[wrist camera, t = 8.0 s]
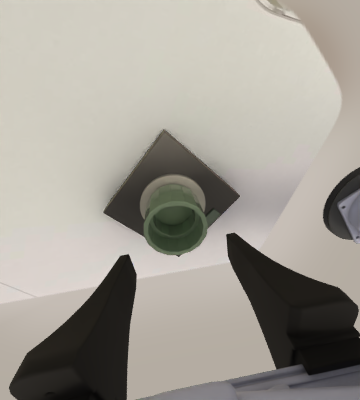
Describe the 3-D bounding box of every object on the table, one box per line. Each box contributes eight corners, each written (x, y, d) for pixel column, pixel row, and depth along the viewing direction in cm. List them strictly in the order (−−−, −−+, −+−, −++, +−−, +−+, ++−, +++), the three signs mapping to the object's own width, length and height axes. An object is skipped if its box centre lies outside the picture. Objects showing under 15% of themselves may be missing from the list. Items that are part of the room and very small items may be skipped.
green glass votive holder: (208, 207, 21) (219, 231, 17) (170, 236, 22) (172, 264, 18) (175, 171, 19) (180, 188, 15) (135, 205, 20) (129, 229, 16)
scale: (233, 189, 23) (242, 198, 21) (177, 246, 26) (179, 260, 24) (164, 129, 20) (164, 131, 17) (107, 203, 22) (101, 215, 20)
